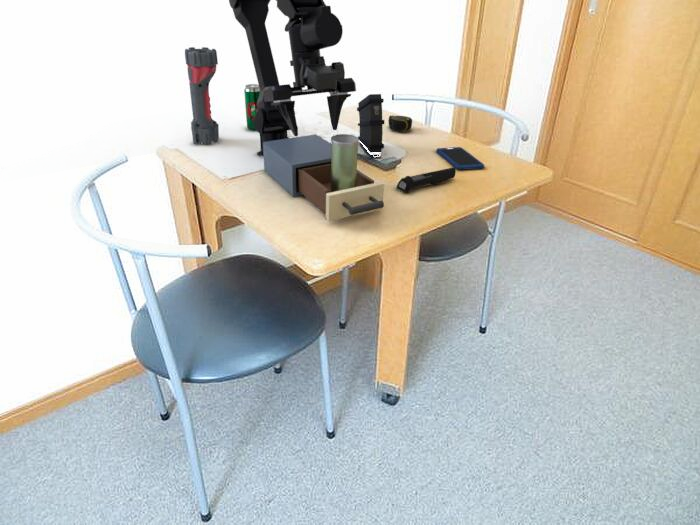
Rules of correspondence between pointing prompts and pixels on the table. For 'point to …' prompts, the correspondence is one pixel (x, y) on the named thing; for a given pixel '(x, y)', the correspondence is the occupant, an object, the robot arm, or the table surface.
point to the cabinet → (294, 159)
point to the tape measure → (400, 123)
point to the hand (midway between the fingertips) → (315, 133)
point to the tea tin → (343, 161)
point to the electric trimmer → (425, 179)
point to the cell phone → (460, 158)
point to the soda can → (251, 103)
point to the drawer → (340, 193)
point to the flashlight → (201, 93)
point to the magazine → (371, 123)
